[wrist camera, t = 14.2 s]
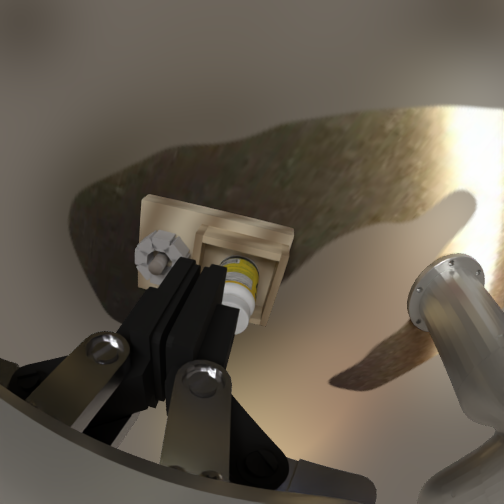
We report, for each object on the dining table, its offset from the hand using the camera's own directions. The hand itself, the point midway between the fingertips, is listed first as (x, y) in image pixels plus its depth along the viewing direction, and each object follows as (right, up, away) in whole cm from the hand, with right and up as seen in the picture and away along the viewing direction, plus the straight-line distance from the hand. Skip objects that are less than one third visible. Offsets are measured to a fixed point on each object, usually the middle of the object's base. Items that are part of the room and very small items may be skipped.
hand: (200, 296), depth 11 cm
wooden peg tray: (-3, +1, +26) cm, 26 cm away
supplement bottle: (0, -1, +24) cm, 24 cm away
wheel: (-8, +1, +24) cm, 25 cm away
